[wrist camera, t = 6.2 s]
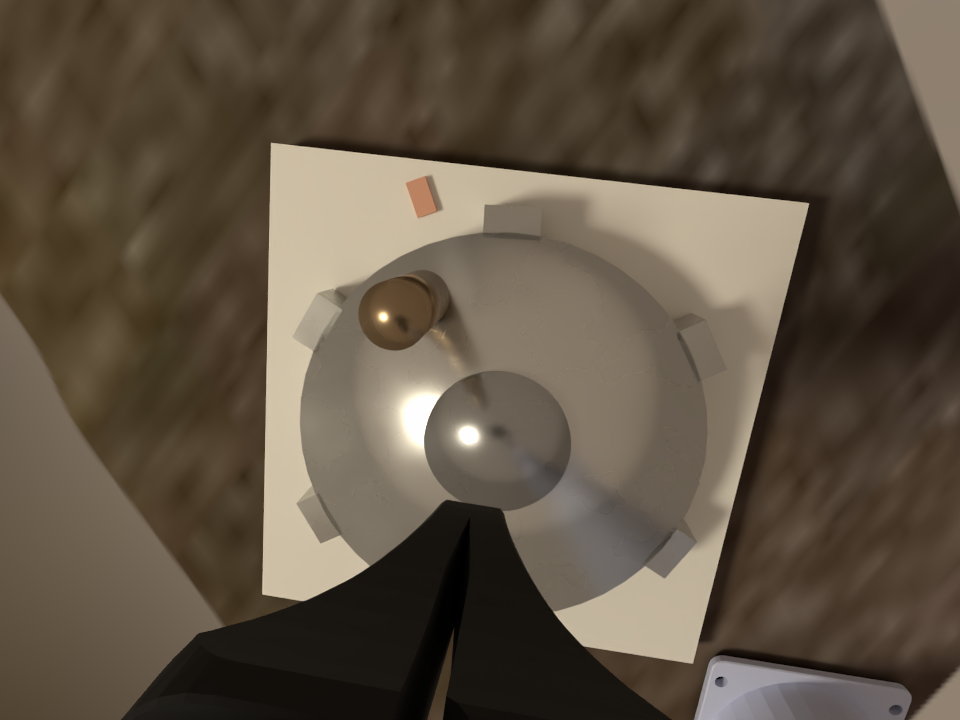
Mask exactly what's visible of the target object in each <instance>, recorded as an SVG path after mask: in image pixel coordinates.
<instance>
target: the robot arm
mask: <svg viewBox="0 0 960 720" xmlns="http://www.w3.org/2000/svg"><path fill="white" fill-rule="evenodd" d="M453 629H454V638H453V651H452V665H451V676H450V681H449V686H448V691H447V695H446V702H445V709H444V716H443V720H671V719H670V718H669V717H667V716H666V715H665V714H663V713H662V712H661V711H659V710H658V709H657V708H655V707H654V706H652V705H651V704H650V703H648V702H647V701H646V700H644V699H643V698H642V697H640V696H639V695H638V694H636V693H635V692H634V691H632V690H631V689H630V688H628V687H627V686H626V685H625V684H623V683H622V682H621V681H620V680H619V679H618V678H616V677H615V676H614V675H613V674H612V673H611V672H610V671H609V670H607V669H606V668H605V667H604V666H603V665H602V664H601V663H599V662H598V661H597V660H596V659H595V658H594V657H593V656H592V655H591V654H590V653H589V652H588V651H587V650H586V649H585V648H584V647H583V646H582V645H581V644H580V642H579V641H578V640H577V639H576V638H575V637H574V636H573V635H572V634H571V633H570V632H569V631H568V629H567V628H566V627H565V626H564V625H563V624H562V622H561V621H560V620H559V619H558V617H557V616H556V615H555V613H554V612H553V611H552V609H551V608H550V607H549V605H548V604H547V602H546V601H545V599H544V598H543V596H542V595H541V593H540V592H539V590H538V588H537V587H536V585H535V583H534V582H533V580H532V578H531V577H530V575H529V573H528V571H527V569H526V567H525V565H524V563H523V561H522V559H521V557H520V555H519V553H518V551H517V549H516V547H515V544H514V542H513V540H512V537H511V535H510V532H509V529H508V526H507V523H506V519H505V514H504V513H503V511H502V510H501V509H500V508H495V507H489V506H483V505H477V504H470V503H464V502H458V501H452V500H445V501H444V502H442V503H441V504H440V505H439V506H438V507H437V509H436V510H435V511H434V512H433V513H432V514H431V515H430V516H429V517H428V518H427V519H426V520H425V521H424V522H423V523H422V524H421V525H420V526H419V527H418V528H417V529H416V530H415V531H414V532H412V533H411V534H410V535H409V536H408V537H407V538H406V539H405V540H404V541H402V542H401V543H400V544H399V545H398V546H396V547H395V548H394V549H392V550H391V551H390V552H389V553H387V554H386V555H385V556H383V557H382V558H381V559H380V560H378V561H377V562H375V563H374V564H372V565H371V566H370V567H368V568H367V569H365V570H364V571H362V572H361V573H359V574H357V575H356V576H354V577H352V578H351V579H349V580H347V581H345V582H343V583H341V584H339V585H337V586H335V587H333V588H331V589H329V590H327V591H325V592H323V593H321V594H319V595H317V596H314V597H312V598H310V599H308V600H306V601H303V602H301V603H298V604H296V605H293V606H291V607H288V608H285V609H282V610H280V611H277V612H274V613H271V614H268V615H265V616H262V617H259V618H256V619H253V620H249V621H245V622H241V623H238V624H234V625H230V626H227V627H223V628H219V629H215V630H212V631H207V632H203V633H199V634H197V635H196V636H195V637H194V639H193V640H192V641H191V642H190V643H189V644H188V645H187V646H186V647H185V648H184V649H183V650H182V651H181V652H180V653H179V654H178V655H177V656H175V658H173V660H172V661H171V662H170V663H169V664H168V665H167V666H166V667H165V668H164V670H163V671H162V672H161V673H160V674H159V675H158V676H157V678H156V679H155V680H154V681H153V682H152V684H151V685H150V686H149V687H148V688H147V690H146V691H145V692H144V693H143V694H142V696H141V697H140V698H139V699H138V700H137V702H136V703H135V704H134V705H133V706H132V708H131V709H130V710H129V711H128V712H127V713H126V715H125V716H124V717H123V718H122V719H121V720H427V718H428V715H429V711H430V708H431V704H432V701H433V698H434V694H435V691H436V687H437V684H438V681H439V677H440V674H441V670H442V667H443V663H444V660H445V657H446V653H447V650H448V646H449V643H450V639H451V636H452V632H453ZM718 677H723V678H721V679H716V678H718ZM911 700H912V697H911V694H910V693H909V691H908V690H907V689H906V688H905V687H904V686H903V685H902V684H899V683H894V682H887V681H881V680H875V679H869V678H862V677H856V676H850V675H844V674H837V673H831V672H825V671H818V670H812V669H806V668H800V667H793V666H787V665H781V664H775V663H768V662H762V661H756V660H749V659H743V658H737V657H731V656H724V655H719V656H716V657H714V658H712V659H711V660H710V662H709V665H708V669H707V673H706V677H705V680H704V684H703V688H702V692H701V696H700V699H699V703H698V707H697V711H696V715H695V718H694V720H904V719H905V717H906V714H907V711H908V709H909V706H910V703H911ZM893 705H894V706H893ZM891 706H892V707H891Z"/></svg>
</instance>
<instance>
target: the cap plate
mask: <svg viewBox="0 0 960 720" xmlns="http://www.w3.org/2000/svg"><path fill="white" fill-rule="evenodd" d="M485 204H487V205H505V206H523V207H541V208H543V209H542V221H541V234H540V236H542V237H546V238H550V239H553V240H557V241H561V242H565V243H568V244H571V245H573V246H576V247H578V248H581V249H583V250H585V251H588V252H590V253H593V254H595V255H597V256H599V257H600V258H602V259H604V260H605V261H607V262H609V263H611V264H612V265H614V266H616V267H617V268H619V269H621V270H622V271H623V272H625V273H626V274H627V275H628V276H630V277H631V278H632V279H633V280H635V281H636V282H637V283H639V284H640V285H641V286H642V287H644V288H645V289H646V291H647V292H648V293H649V294H650V295H651V296H652V297H653V298H654V299H655V300H656V301H657V302H658V303H659V304H660V305H661V306H662V307H663V308H664V310H665V311H666V313H667V314H668V315H669V317H670V318H671V320H672V321H675V320H677V319H679V318H681V317H684V316H686V315H688V314H690V313H693V314H695V315H697V316H699V317H701V318H703V319H706V321H707V323H708V326H709V328H710V330H711V333H712V335H713V338H714V340H715V342H716V345H717V347H718V349H719V352H720V354H721V357H722V359H723V361H724V364H725V366H726V368H727V370H725V371H723V372H720V373H718V374H716V375H713V376H711V377H709V378H706V379H704V380H702V381H701V382H702V387H703V392H704V397H705V402H706V408H707V428H708V436H707V446H706V457H705V462H704V466H703V470H702V475H701V479H700V483H699V486H698V488H697V491H696V493H695V496H694V498H693V501H692V503H691V506H690V508H689V510H688V511H687V513H686V515H685V517H684V518H683V519H684V520H685V521H686V523H687V525H688V527H689V528H690V530H691V532H692V534H693V536H694V537H695V539H696V541H697V543H696V544H695V545H694V547H693V548H692V549H691V550H690V551H689V552H688V553H687V554H686V556H685V557H684V558H683V559H682V560H681V561H680V562H679V563H678V564H677V566H676V567H675V568H674V569H673V570H672V571H671V572H670V573H669V575H668V576H667V577H666V578H665V579H664V578H663V577H661V576H660V575H658V574H657V573H655V572H654V571H652V570H650V569H649V568H647V567H646V566H645V567H643V568H642V569H641V570H640V571H638V572H637V573H636V574H634V575H633V576H632V577H630V578H629V579H628V580H627V581H625V582H624V583H622V584H620V585H618V586H617V587H615V588H613V589H612V590H610V591H608V592H607V593H605V594H603V595H601V596H598V597H596V598H594V599H591V600H589V601H587V602H585V603H582V604H579V605H576V606H573V607H569V608H566V609H563V610H559V611H554V613H555V615H556V616H557V617H558V619H559V620H560V621H561V622H562V624H563V625H564V626H565V627H566V628H567V629H568V631H569V632H570V633H571V634H572V635H573V636H574V637H575V638H576V639H577V640H578V641H579V642H580V644H581V645H582V646H586V647H592V648H599V649H605V650H611V651H617V652H624V653H630V654H636V655H642V656H648V657H655V658H661V659H667V660H673V661H679V662H686V663H692V664H693V661H694V657H695V653H696V649H697V645H698V641H699V637H700V633H701V629H702V625H703V621H704V617H705V613H706V609H707V605H708V601H709V597H710V593H711V590H712V586H713V582H714V578H715V574H716V570H717V566H718V562H719V558H720V554H721V550H722V546H723V542H724V538H725V534H726V530H727V526H728V522H729V518H730V514H731V511H732V507H733V503H734V499H735V495H736V491H737V487H738V483H739V479H740V475H741V471H742V467H743V463H744V459H745V455H746V451H747V447H748V443H749V439H750V436H751V432H752V428H753V424H754V420H755V416H756V412H757V408H758V404H759V400H760V396H761V392H762V388H763V384H764V380H765V376H766V372H767V368H768V364H769V361H770V357H771V353H772V349H773V345H774V341H775V337H776V333H777V329H778V325H779V321H780V317H781V313H782V309H783V305H784V301H785V297H786V293H787V289H788V286H789V282H790V278H791V274H792V270H793V266H794V262H795V258H796V254H797V250H798V246H799V242H800V238H801V234H802V230H803V226H804V222H805V218H806V214H807V211H808V207H809V203H802V202H793V201H785V200H776V199H767V198H758V197H749V196H740V195H731V194H722V193H713V192H704V191H695V190H686V189H677V188H669V187H660V186H651V185H642V184H633V183H624V182H615V181H606V180H597V179H588V178H579V177H570V176H561V175H553V174H544V173H535V172H526V171H517V170H508V169H499V168H490V167H481V166H472V165H463V164H454V163H445V162H437V161H428V160H419V159H410V158H401V157H392V156H383V155H374V154H365V153H356V152H347V151H338V150H329V149H321V148H312V147H303V146H294V145H285V144H276V143H271V177H270V229H269V280H268V332H267V383H266V435H265V486H264V537H263V589H262V594H263V595H269V596H275V597H282V598H288V599H294V600H300V601H306V600H308V599H310V598H312V597H314V596H317V595H319V594H321V593H323V592H325V591H327V590H329V589H331V588H333V587H335V586H337V585H339V584H341V583H343V582H345V581H347V580H349V579H351V578H352V577H354V576H356V575H357V574H359V573H361V572H362V571H364V570H365V569H367V568H368V567H370V566H369V565H368V564H367V563H366V562H365V561H364V560H363V559H361V558H360V557H359V556H358V555H357V554H356V553H355V552H354V551H353V550H352V548H351V547H350V546H349V545H348V544H347V543H346V542H345V541H344V539H343V538H342V537H341V536H337V537H335V538H333V539H330V540H328V541H326V542H323V543H321V544H320V542H319V540H318V539H317V537H316V535H315V534H314V532H313V530H312V529H311V527H310V525H309V524H308V522H307V520H306V519H305V517H304V516H303V514H302V512H301V511H300V509H299V507H298V506H297V504H296V503H297V502H298V501H299V500H300V498H301V497H302V496H303V495H304V494H305V493H306V491H307V490H308V489H309V488H310V487H311V486H312V483H311V481H310V478H309V475H308V473H307V469H306V464H305V460H304V455H303V451H302V444H301V433H300V406H301V396H302V390H303V385H304V379H305V374H306V371H307V368H308V365H309V362H310V359H311V356H312V353H313V351H312V350H311V349H309V348H308V347H306V346H305V345H303V344H302V343H300V342H299V341H297V340H296V339H294V338H292V336H293V334H294V332H295V331H296V329H297V327H298V325H299V324H300V322H301V320H302V318H303V317H304V315H305V313H306V311H307V310H308V308H309V306H310V304H311V303H312V301H313V299H314V297H315V296H316V294H317V293H319V292H322V291H326V290H329V289H334V290H336V291H337V292H339V293H340V294H342V295H343V296H345V297H347V298H348V297H349V296H350V295H351V293H352V292H353V291H354V290H355V289H356V288H357V287H358V286H359V285H361V284H362V283H363V282H364V281H365V280H367V279H368V278H369V277H370V276H371V275H373V274H374V273H375V272H376V271H377V270H379V269H381V268H382V267H384V266H385V265H387V264H389V263H390V262H392V261H394V260H395V259H397V258H398V257H400V256H402V255H404V254H406V253H409V252H411V251H413V250H416V249H418V248H420V247H422V246H425V245H427V244H431V243H434V242H438V241H441V240H444V239H448V238H451V237H456V236H463V235H470V234H477V233H483V224H484V206H485Z"/></svg>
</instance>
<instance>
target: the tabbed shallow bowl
mask: <svg viewBox="0 0 960 720" xmlns="http://www.w3.org/2000/svg"><path fill="white" fill-rule="evenodd" d="M542 209H543V208H541V207H523V206H505V205H487V204H485V206H484V224H483V233H477V234H470V235H463V236H456V237H451V238H448V239H444V240H441V241H438V242H434V243H431V244H427V245H425V246H422V247H420V248H418V249H416V250H413V251H411V252H409V253H406V254H404V255H402V256H400V257H398V258H397V259H395V260H394V261H392V262H390V263H389V264H387V265H385V266H384V267H382V268H381V269H379V270H377V271H376V272H375V273H374V274H373V275H371V276H370V277H369V278H368V279H367V280H365V281H364V282H363V283H362V284H361V285H359V286H358V287H357V288H356V289H355V290H354V291H353V292H352V293H351V295H350V296H349V297H348V298H347V297H345V296H343V295H342V294H340V293H339V292H337V291H336V290H334V289H329V290H326V291H322V292H319V293H317V294H316V296H315V297H314V299H313V301H312V303H311V304H310V306H309V308H308V310H307V311H306V313H305V315H304V317H303V318H302V320H301V322H300V324H299V325H298V327H297V329H296V331H295V332H294V334H293V336H292V338H294V339H296V340H297V341H299V342H300V343H302V344H303V345H305V346H306V347H308V348H309V349H311V350H312V351H313V353H312V356H311V359H310V362H309V365H308V368H307V371H306V374H305V379H304V385H303V390H302V396H301V406H300V433H301V444H302V451H303V455H304V460H305V464H306V469H307V473H308V475H309V478H310V481H311V483H312V486H311V487H310V488H309V489H308V490H307V491H306V493H305V494H304V495H303V496H302V497H301V498H300V500H299V501H298V502H297V503H296V504H297V506H298V507H299V509H300V511H301V512H302V514H303V516H304V517H305V519H306V520H307V522H308V524H309V525H310V527H311V529H312V530H313V532H314V534H315V535H316V537H317V539H318V540H319V542H320V544H321V543H323V542H326V541H328V540H330V539H333V538H335V537H337V536H341V537H342V538H343V539H344V541H345V542H346V543H347V544H348V545H349V546H350V547H351V548H352V550H353V551H354V552H355V553H356V554H357V555H358V556H359V557H360V558H361V559H363V560H364V561H365V562H366V563H367V564H368V565H369V566H371V565H372V564H374V563H375V562H377V561H378V560H380V559H381V558H382V557H383V556H385V555H386V554H387V553H389V552H390V551H391V550H392V549H394V548H395V547H396V546H398V545H399V544H400V543H401V542H402V541H404V540H405V539H406V538H407V537H408V536H409V535H410V534H411V533H412V532H414V531H415V530H416V529H417V528H418V527H419V526H420V525H421V524H422V523H423V522H424V521H425V520H426V519H427V518H428V517H429V516H430V515H431V514H432V513H433V512H434V511H435V510H436V509H437V507H438V506H439V505H440V504H441V503H442V502H444V501H445V500H452V501H458V502H464V503H470V504H477V505H483V506H489V507H495V508H500V509H501V510H502V511H503V513H504V514H505V519H506V523H507V526H508V529H509V532H510V535H511V537H512V540H513V542H514V544H515V547H516V549H517V551H518V553H519V555H520V557H521V559H522V561H523V563H524V565H525V567H526V569H527V571H528V573H529V575H530V577H531V578H532V580H533V582H534V583H535V585H536V587H537V588H538V590H539V592H540V593H541V595H542V596H543V598H544V599H545V601H546V602H547V604H548V605H549V607H550V608H551V609H552V611H553V612H554V611H559V610H563V609H566V608H569V607H573V606H576V605H579V604H582V603H585V602H587V601H589V600H591V599H594V598H596V597H598V596H601V595H603V594H605V593H607V592H608V591H610V590H612V589H613V588H615V587H617V586H618V585H620V584H622V583H624V582H625V581H627V580H628V579H629V578H630V577H632V576H633V575H634V574H636V573H637V572H638V571H640V570H641V569H642V568H643V567H645V566H646V567H647V568H649V569H650V570H652V571H654V572H655V573H657V574H658V575H660V576H661V577H663V578H664V579H665V578H666V577H667V576H668V575H669V573H670V572H671V571H672V570H673V569H674V568H675V567H676V566H677V564H678V563H679V562H680V561H681V560H682V559H683V558H684V557H685V556H686V554H687V553H688V552H689V551H690V550H691V549H692V548H693V547H694V545H695V544H696V543H697V541H696V539H695V537H694V536H693V534H692V532H691V530H690V528H689V527H688V525H687V523H686V521H685V520H684V519H683V518H684V517H685V515H686V513H687V511H688V510H689V508H690V506H691V503H692V501H693V498H694V496H695V493H696V491H697V488H698V486H699V483H700V479H701V475H702V470H703V466H704V462H705V457H706V446H707V436H708V428H707V408H706V402H705V397H704V392H703V387H702V382H701V381H702V380H704V379H706V378H709V377H711V376H713V375H716V374H718V373H720V372H723V371H725V370H727V368H726V366H725V364H724V361H723V359H722V357H721V354H720V352H719V349H718V347H717V345H716V342H715V340H714V338H713V335H712V333H711V330H710V328H709V326H708V323H707V321H706V319H703V318H701V317H699V316H697V315H695V314H693V313H690V314H688V315H686V316H684V317H681V318H679V319H677V320H675V321H672V320H671V318H670V317H669V315H668V314H667V313H666V311H665V310H664V308H663V307H662V306H661V305H660V304H659V303H658V302H657V301H656V300H655V299H654V298H653V297H652V296H651V295H650V294H649V293H648V292H647V291H646V289H645V288H644V287H642V286H641V285H640V284H639V283H637V282H636V281H635V280H633V279H632V278H631V277H630V276H628V275H627V274H626V273H625V272H623V271H622V270H621V269H619V268H617V267H616V266H614V265H612V264H611V263H609V262H607V261H605V260H604V259H602V258H600V257H599V256H597V255H595V254H593V253H590V252H588V251H585V250H583V249H581V248H578V247H576V246H573V245H571V244H568V243H565V242H561V241H557V240H553V239H550V238H546V237H542V236H540V234H541V221H542Z"/></svg>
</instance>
